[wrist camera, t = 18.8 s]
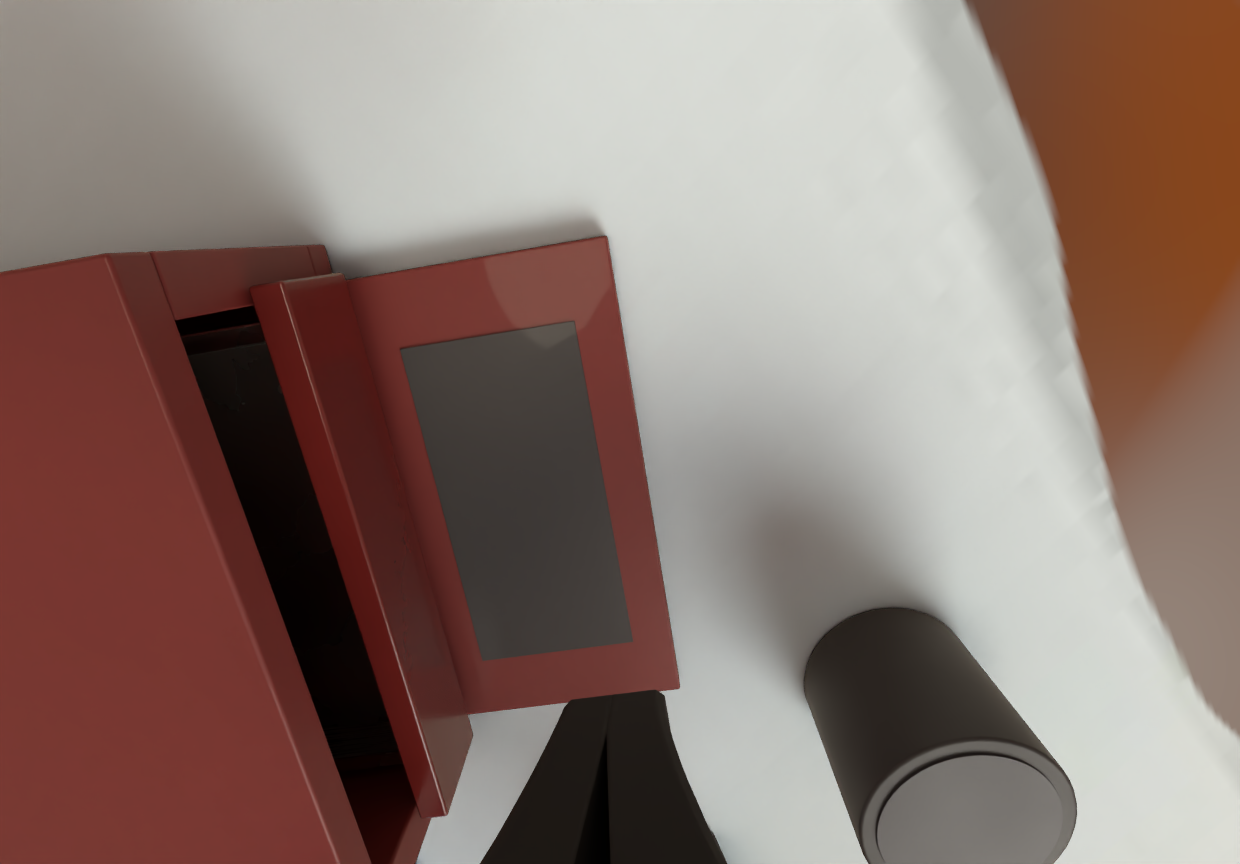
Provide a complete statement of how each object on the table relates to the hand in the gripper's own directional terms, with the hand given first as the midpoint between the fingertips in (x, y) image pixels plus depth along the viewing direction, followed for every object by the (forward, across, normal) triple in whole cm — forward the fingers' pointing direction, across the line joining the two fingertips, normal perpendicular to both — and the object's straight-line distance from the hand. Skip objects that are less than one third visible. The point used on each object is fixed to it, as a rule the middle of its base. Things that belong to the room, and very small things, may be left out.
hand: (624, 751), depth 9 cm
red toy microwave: (+10, +10, 0) cm, 15 cm away
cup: (+10, -7, +8) cm, 15 cm away
